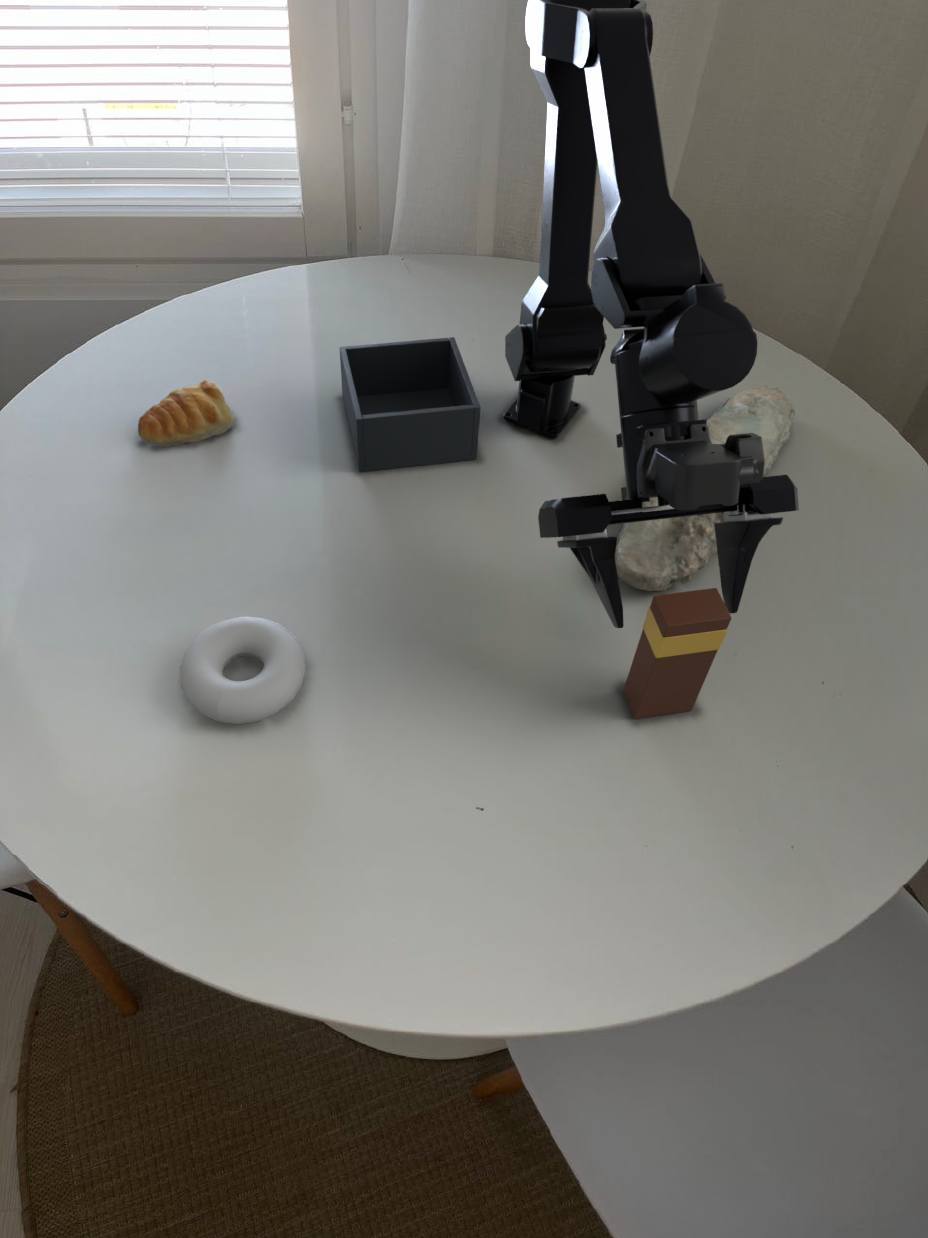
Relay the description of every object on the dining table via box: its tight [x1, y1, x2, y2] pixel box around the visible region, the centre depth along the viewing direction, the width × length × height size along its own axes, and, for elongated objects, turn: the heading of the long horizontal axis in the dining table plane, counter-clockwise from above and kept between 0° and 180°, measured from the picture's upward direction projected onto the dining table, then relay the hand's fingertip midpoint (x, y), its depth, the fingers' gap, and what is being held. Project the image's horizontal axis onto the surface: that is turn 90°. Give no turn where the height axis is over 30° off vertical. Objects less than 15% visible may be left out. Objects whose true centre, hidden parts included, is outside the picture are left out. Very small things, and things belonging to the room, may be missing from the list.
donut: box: [179, 615, 307, 725], centre depth 73 cm, size 10×4×10 cm
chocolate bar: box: [623, 587, 732, 720], centre depth 71 cm, size 3×5×12 cm, turn 102°
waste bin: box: [338, 336, 482, 473], centre depth 94 cm, size 12×12×7 cm
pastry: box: [137, 379, 235, 448], centre depth 93 cm, size 9×7×4 cm
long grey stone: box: [615, 385, 796, 592], centre depth 91 cm, size 35×5×10 cm
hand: (676, 620), depth 69 cm, fingers open, 9 cm apart
